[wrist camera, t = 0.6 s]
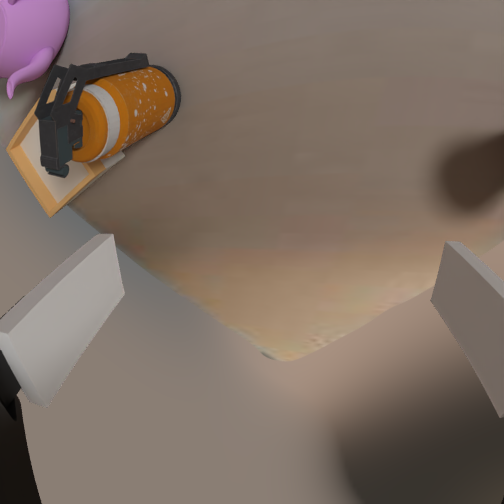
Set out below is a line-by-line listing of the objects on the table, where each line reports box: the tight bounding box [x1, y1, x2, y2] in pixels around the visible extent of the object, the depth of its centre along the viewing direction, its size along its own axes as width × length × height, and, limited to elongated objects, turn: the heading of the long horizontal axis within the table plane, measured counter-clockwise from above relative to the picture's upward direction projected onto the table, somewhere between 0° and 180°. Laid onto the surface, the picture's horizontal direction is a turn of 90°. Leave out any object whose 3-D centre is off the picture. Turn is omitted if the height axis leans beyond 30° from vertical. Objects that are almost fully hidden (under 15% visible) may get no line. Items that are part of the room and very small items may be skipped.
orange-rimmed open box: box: [6, 83, 125, 218], centre depth 42 cm, size 15×15×8 cm
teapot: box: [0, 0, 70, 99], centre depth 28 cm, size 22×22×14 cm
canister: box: [34, 53, 181, 178], centre depth 29 cm, size 9×11×20 cm
